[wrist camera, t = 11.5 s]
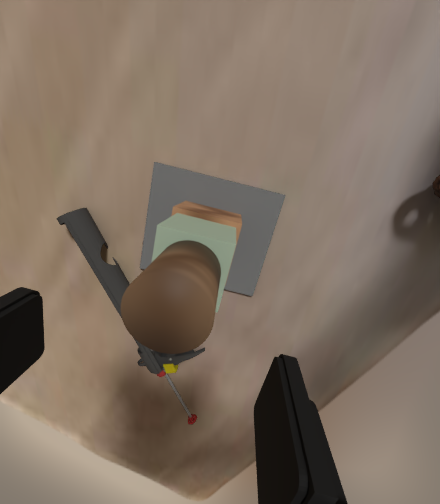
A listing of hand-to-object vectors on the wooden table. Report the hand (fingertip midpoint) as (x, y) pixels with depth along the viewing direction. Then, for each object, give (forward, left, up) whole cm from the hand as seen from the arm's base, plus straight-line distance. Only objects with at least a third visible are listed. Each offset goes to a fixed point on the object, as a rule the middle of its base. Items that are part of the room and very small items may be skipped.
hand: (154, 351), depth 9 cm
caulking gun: (+5, +16, -22) cm, 27 cm away
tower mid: (0, +1, -15) cm, 15 cm away
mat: (0, +1, -21) cm, 21 cm away
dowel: (0, +1, -9) cm, 9 cm away
